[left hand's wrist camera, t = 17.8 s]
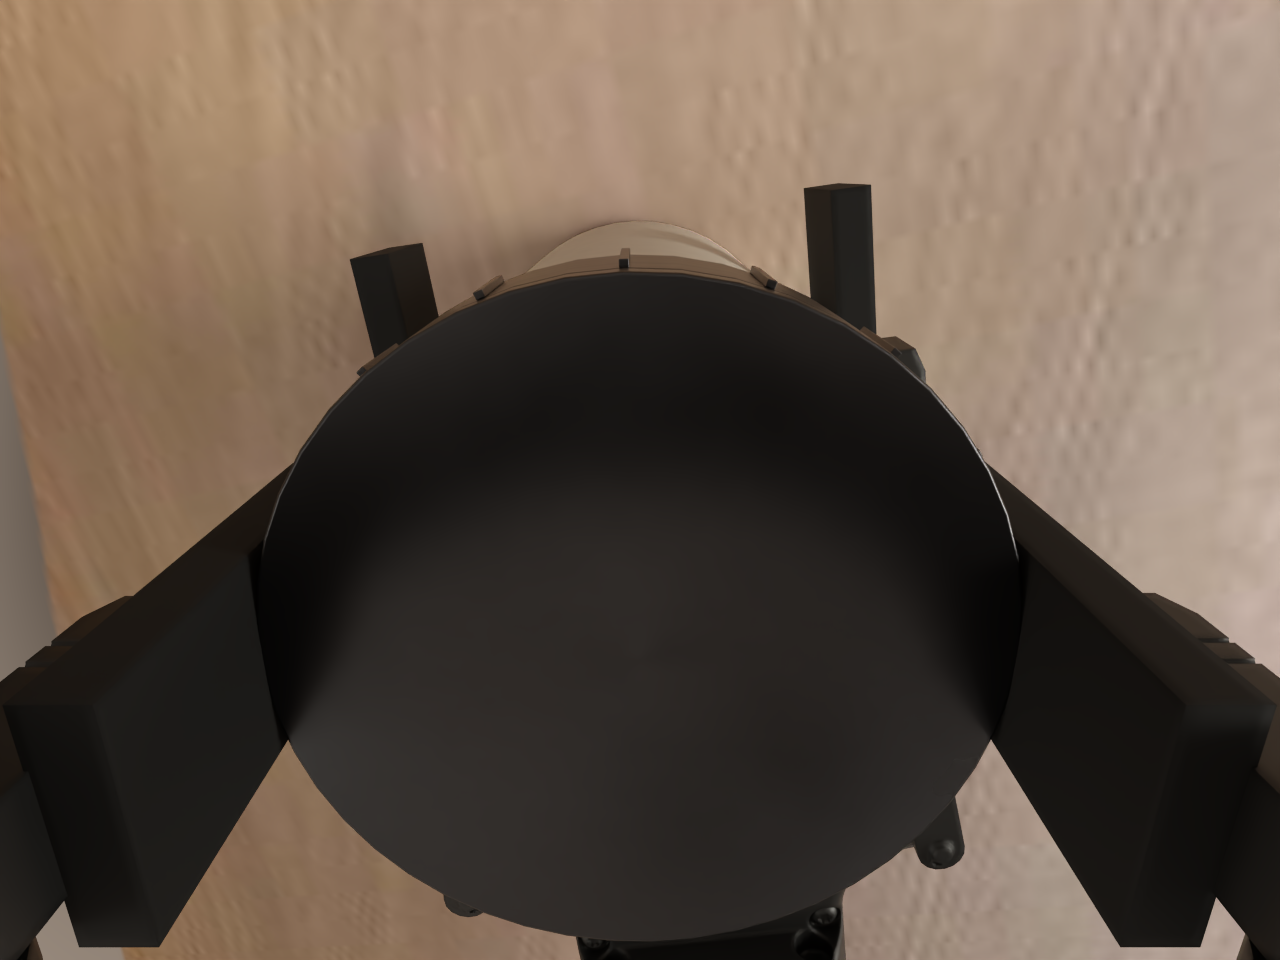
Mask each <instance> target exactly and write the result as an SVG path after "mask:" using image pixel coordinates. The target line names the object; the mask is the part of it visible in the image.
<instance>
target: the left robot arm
mask: <svg viewBox="0 0 1280 960" xmlns="http://www.w3.org/2000/svg"><path fill="white" fill-rule="evenodd" d="M985 463H986V462H985ZM986 464H987V463H986ZM292 465H293V463H292V464H291V465H290V466H289V467H288V468H286V469H285V470H284V471H283V472H282V473H280V474H279V475H278V476H277V477H276V478H274V479H273V480H272V481H271V482H270V483H268V484H267V485H266V486H265V487H264V488H262V489H261V490H260V491H259V492H258V493H256V494H255V495H254V496H253V497H252V498H250V499H249V500H248V501H247V502H246V503H244V504H243V505H242V506H241V507H240V508H238V509H237V510H236V511H235V512H234V513H232V514H231V515H230V516H229V517H228V518H226V519H225V520H224V521H223V522H222V523H220V524H219V525H218V526H217V527H216V528H214V529H213V530H212V531H211V532H210V533H208V534H207V535H206V536H205V537H204V538H202V539H201V540H200V541H199V542H198V543H196V544H195V545H194V546H193V547H192V548H190V549H189V550H188V551H187V552H186V553H184V554H183V555H182V556H181V557H180V558H178V559H177V560H176V561H175V562H173V563H172V564H171V565H170V566H169V567H167V568H166V569H165V570H164V571H163V572H161V573H160V574H159V575H158V576H157V577H155V578H154V579H153V580H152V581H151V582H149V583H148V584H147V585H146V586H145V587H143V588H142V589H141V590H140V591H139V592H137V593H136V594H135V595H134V596H124V597H122V598H120V599H118V600H116V601H114V602H112V603H110V604H108V605H106V606H104V607H102V608H99V609H97V610H95V611H93V612H91V613H89V614H87V615H85V616H83V617H82V618H80V619H79V620H78V621H76V622H75V623H74V624H73V625H71V626H70V627H69V628H68V629H66V630H65V631H64V632H63V633H61V634H60V635H59V636H58V637H56V638H55V639H54V640H53V641H52V644H51V646H45V647H44V648H42V649H41V650H40V651H39V652H37V653H36V654H35V655H34V656H32V657H31V658H30V659H29V660H27V661H26V665H25V667H19V668H17V669H16V670H15V671H14V672H12V673H11V674H10V675H8V676H7V677H6V678H5V679H3V680H2V681H1V682H0V960H43V958H42V954H41V951H40V948H39V945H38V942H37V939H36V935H37V934H38V933H39V932H40V930H41V929H42V928H43V926H44V925H45V924H46V923H47V922H48V920H49V919H50V918H51V916H52V915H53V914H54V913H55V911H56V910H57V909H58V908H59V906H60V905H61V904H62V903H63V901H65V904H66V907H67V910H68V914H69V917H70V920H71V923H72V926H73V929H74V932H75V936H76V939H77V942H78V945H79V947H159V946H160V945H161V943H162V942H163V940H164V938H165V937H166V935H167V934H168V932H169V930H170V929H171V927H172V925H173V924H174V922H175V921H176V919H177V917H178V916H179V914H180V913H181V911H182V909H183V908H184V906H185V905H186V903H187V901H188V900H189V898H190V897H191V895H192V893H193V892H194V890H195V889H196V887H197V885H198V884H199V882H200V880H201V879H202V877H203V876H204V874H205V872H206V871H207V869H208V868H209V866H210V864H211V863H212V861H213V860H214V858H215V856H216V855H217V853H218V852H219V850H220V848H221V847H222V845H223V843H224V842H225V840H226V839H227V837H228V835H229V834H230V832H231V831H232V829H233V827H234V826H235V824H236V823H237V821H238V819H239V818H240V816H241V815H242V813H243V811H244V810H245V808H246V807H247V805H248V803H249V802H250V800H251V798H252V797H253V795H254V794H255V792H256V790H257V789H258V787H259V786H260V784H261V782H262V781H263V779H264V778H265V776H266V774H267V773H268V771H269V770H270V768H271V766H272V765H273V763H274V761H275V760H276V758H277V757H278V755H279V753H280V752H281V750H282V749H283V747H284V745H285V744H286V742H287V741H288V738H287V736H286V733H285V731H284V729H283V727H282V725H281V723H280V720H279V718H278V716H277V714H276V711H275V708H274V705H273V701H272V698H271V695H270V691H269V687H268V682H267V677H266V672H265V667H264V661H263V655H262V650H261V644H260V638H259V633H258V626H257V581H258V574H259V568H260V562H261V555H262V549H263V542H264V537H265V534H266V531H267V528H268V524H269V521H270V518H271V515H272V512H273V509H274V506H275V502H276V499H277V496H278V493H279V491H280V489H281V487H282V485H283V483H284V481H285V479H286V477H287V475H288V473H289V471H290V469H291V467H292ZM987 466H988V468H989V469H990V471H991V474H992V476H993V479H994V481H995V484H996V486H997V488H998V491H999V493H1000V496H1001V498H1002V500H1003V503H1004V505H1005V508H1006V510H1007V512H1008V516H1009V520H1010V524H1011V528H1012V532H1013V536H1014V540H1015V545H1016V549H1017V553H1018V557H1019V566H1020V578H1021V589H1022V601H1023V607H1022V622H1021V633H1020V639H1019V646H1018V651H1017V657H1016V662H1015V667H1014V672H1013V678H1012V683H1011V688H1010V693H1009V696H1008V699H1007V701H1006V704H1005V707H1004V709H1003V712H1002V715H1001V717H1000V720H999V723H998V725H997V728H996V731H995V732H994V734H993V736H992V738H991V740H992V741H993V743H994V745H995V746H996V748H997V749H998V751H999V753H1000V754H1001V756H1002V757H1003V759H1004V761H1005V762H1006V764H1007V766H1008V767H1009V769H1010V770H1011V772H1012V774H1013V775H1014V777H1015V778H1016V780H1017V782H1018V783H1019V785H1020V786H1021V788H1022V790H1023V791H1024V793H1025V794H1026V796H1027V798H1028V799H1029V801H1030V803H1031V804H1032V806H1033V807H1034V809H1035V811H1036V812H1037V814H1038V815H1039V817H1040V819H1041V820H1042V822H1043V823H1044V825H1045V827H1046V828H1047V830H1048V831H1049V833H1050V835H1051V836H1052V838H1053V840H1054V841H1055V843H1056V844H1057V846H1058V848H1059V849H1060V851H1061V852H1062V854H1063V856H1064V857H1065V859H1066V860H1067V862H1068V864H1069V865H1070V867H1071V868H1072V870H1073V872H1074V873H1075V875H1076V876H1077V878H1078V880H1079V881H1080V883H1081V885H1082V886H1083V888H1084V889H1085V891H1086V893H1087V894H1088V896H1089V897H1090V899H1091V901H1092V902H1093V904H1094V905H1095V907H1096V909H1097V910H1098V912H1099V913H1100V915H1101V917H1102V918H1103V920H1104V922H1105V923H1106V925H1107V926H1108V928H1109V930H1110V931H1111V933H1112V934H1113V936H1114V938H1115V939H1116V941H1117V942H1118V944H1119V946H1120V947H1200V946H1201V943H1202V940H1203V937H1204V934H1205V930H1206V927H1207V924H1208V921H1209V918H1210V915H1211V912H1212V908H1213V905H1214V902H1215V899H1216V897H1217V899H1218V900H1219V901H1220V902H1221V904H1222V905H1223V906H1224V907H1225V909H1226V910H1227V911H1228V912H1229V914H1230V915H1231V916H1232V917H1233V919H1234V920H1235V921H1236V922H1237V924H1238V925H1239V926H1240V927H1241V929H1242V930H1243V931H1244V932H1245V936H1244V939H1243V942H1242V945H1241V948H1240V951H1239V954H1238V957H1237V960H1280V678H1279V677H1278V676H1276V675H1275V674H1274V673H1273V672H1271V671H1270V670H1269V669H1267V668H1266V667H1265V666H1264V665H1262V664H1255V658H1253V657H1252V656H1251V655H1250V654H1248V653H1247V652H1246V651H1245V650H1243V649H1242V648H1241V647H1240V646H1238V645H1237V644H1236V643H1229V638H1228V637H1227V636H1226V635H1224V634H1223V633H1222V632H1220V631H1219V630H1218V629H1217V628H1215V627H1214V626H1213V625H1212V624H1210V623H1209V622H1208V621H1206V620H1205V619H1204V618H1203V617H1201V616H1200V615H1199V614H1197V613H1195V612H1193V611H1191V610H1189V609H1187V608H1185V607H1183V606H1181V605H1179V604H1177V603H1175V602H1173V601H1170V600H1168V599H1166V598H1164V597H1162V596H1160V595H1158V594H1156V593H1142V592H1141V591H1140V590H1138V589H1137V588H1136V587H1135V586H1134V585H1132V584H1131V583H1130V582H1129V581H1128V580H1126V579H1125V578H1124V577H1123V576H1122V575H1120V574H1119V573H1118V572H1117V571H1116V570H1114V569H1113V568H1112V567H1111V566H1110V565H1108V564H1107V563H1106V562H1105V561H1104V560H1102V559H1101V558H1100V557H1099V556H1098V555H1096V554H1095V553H1094V552H1093V551H1092V550H1090V549H1089V548H1088V547H1087V546H1086V545H1084V544H1083V543H1082V542H1081V541H1080V540H1078V539H1077V538H1076V537H1075V536H1073V535H1072V534H1071V533H1070V532H1069V531H1067V530H1066V529H1065V528H1064V527H1063V526H1061V525H1060V524H1059V523H1058V522H1057V521H1055V520H1054V519H1053V518H1052V517H1051V516H1049V515H1048V514H1047V513H1046V512H1045V511H1043V510H1042V509H1041V508H1040V507H1039V506H1037V505H1036V504H1035V503H1034V502H1033V501H1031V500H1030V499H1029V498H1028V497H1027V496H1025V495H1024V494H1023V493H1022V492H1021V491H1019V490H1018V489H1017V488H1016V487H1015V486H1013V485H1012V484H1011V483H1010V482H1009V481H1007V480H1006V479H1005V478H1004V477H1003V476H1001V475H1000V474H999V473H998V472H997V471H995V470H994V469H993V468H992V467H991V466H989V465H988V464H987Z"/></svg>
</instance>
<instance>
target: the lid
mask: <svg viewBox="0 0 1280 960" xmlns="http://www.w3.org/2000/svg"><path fill="white" fill-rule="evenodd" d="M473 295H474V296H473V297H471V298H469V299H467V300H466V301H464V302H462V303H460V304H459V305H457V306H455V307H453V308H452V309H450V310H448V311H446V312H445V313H443V314H442V315H441V316H439V317H438V318H436V319H435V320H434V321H432V322H431V323H429V324H428V325H427V326H425V327H424V328H422V329H421V330H419V331H418V332H417V333H415V334H414V335H412V336H411V337H410V338H408V339H407V340H405V341H404V342H403V343H402V344H400V345H398V344H397V343H396V344H394V345H393V346H392V347H390V348H389V349H387V350H386V351H384V352H383V353H381V354H380V355H379V356H377V357H376V358H374V359H373V360H371V361H370V362H368V363H367V364H366V365H364V366H363V367H361V368H360V369H359V370H358V371H357V374H358V375H359V376H360V378H359V379H358V380H357V381H356V382H355V383H354V384H353V385H352V386H351V387H350V388H349V389H348V390H347V391H346V392H345V393H344V394H343V395H342V396H341V397H340V398H339V399H338V400H337V401H336V403H335V404H334V405H333V406H332V407H331V408H330V409H329V410H328V411H327V413H326V414H325V416H324V417H323V418H322V420H321V421H320V423H319V424H318V425H317V427H316V428H315V430H314V431H313V433H312V434H311V435H310V437H309V438H308V440H307V441H306V442H305V444H304V445H303V447H302V448H301V450H300V451H299V453H298V455H297V457H296V459H295V461H294V463H293V465H292V467H291V469H290V471H289V473H288V475H287V477H286V479H285V481H284V483H283V485H282V487H281V489H280V491H279V493H278V496H277V499H276V502H275V506H274V509H273V512H272V515H271V518H270V521H269V524H268V528H267V531H266V534H265V537H264V542H263V549H262V555H261V562H260V568H259V574H258V581H257V626H258V633H259V638H260V644H261V650H262V655H263V661H264V667H265V672H266V677H267V682H268V687H269V691H270V695H271V698H272V701H273V705H274V708H275V711H276V714H277V716H278V718H279V720H280V723H281V725H282V727H283V729H284V731H285V733H286V736H287V738H288V740H289V742H290V744H291V746H292V748H293V751H294V752H295V754H296V756H297V757H298V759H299V760H300V762H301V763H302V765H303V767H304V768H305V770H306V771H307V773H308V774H309V776H310V778H311V779H312V781H313V782H314V784H315V785H316V787H317V788H318V789H319V791H320V792H321V793H322V794H323V795H324V797H325V798H326V799H327V800H328V801H329V803H330V804H331V805H332V806H333V807H334V809H335V810H336V811H337V812H338V813H339V815H340V816H341V817H342V818H343V819H344V820H345V821H346V822H347V823H348V824H349V825H350V826H351V827H352V828H353V829H354V830H355V831H356V832H357V833H358V834H359V835H361V836H362V837H363V838H364V839H365V840H366V841H367V842H368V843H369V844H370V845H371V846H372V847H373V848H374V849H376V850H377V851H378V852H380V853H381V854H382V855H384V856H385V857H386V858H388V859H389V860H390V861H392V862H393V863H395V864H396V865H397V866H399V867H400V868H401V869H403V870H404V871H405V872H407V873H408V874H409V875H411V876H413V877H415V878H416V879H418V880H420V881H421V882H423V883H425V884H427V885H428V886H430V887H432V888H434V889H435V890H437V891H439V892H440V893H442V894H444V895H446V896H448V897H450V898H452V899H454V900H457V901H459V902H461V903H463V904H466V905H468V906H470V907H472V908H475V909H477V910H479V911H481V912H484V913H486V914H489V915H492V916H495V917H498V918H501V919H505V920H508V921H511V922H514V923H517V924H520V925H523V926H526V927H531V928H535V929H540V930H544V931H549V932H553V933H558V934H563V935H568V936H576V937H584V938H593V939H601V940H613V941H662V940H675V939H688V938H697V937H703V936H709V935H714V934H720V933H726V932H731V931H737V930H740V929H744V928H747V927H751V926H754V925H758V924H762V923H765V922H769V921H772V920H776V919H779V918H781V917H784V916H786V915H789V914H791V913H794V912H796V911H799V910H802V909H804V908H807V907H809V906H812V905H814V904H817V903H819V902H821V901H823V900H824V899H826V898H828V897H830V896H832V895H834V894H836V893H838V892H840V891H842V890H844V889H846V888H847V887H849V886H851V885H853V884H855V883H856V882H858V881H859V880H861V879H862V878H864V877H865V876H867V875H868V874H870V873H871V872H873V871H874V870H876V869H877V868H879V867H880V866H882V865H883V864H885V863H886V862H888V861H889V860H891V859H892V858H893V857H894V856H895V855H897V854H898V853H899V852H900V851H901V850H902V849H904V848H905V847H906V846H907V845H908V844H910V843H911V842H912V841H913V840H914V839H915V838H917V837H918V836H919V835H920V834H921V833H922V832H923V831H924V830H925V829H926V828H927V827H928V826H929V825H930V824H931V823H932V822H933V821H934V819H935V818H936V817H937V816H938V815H939V814H940V813H941V812H942V811H943V810H944V809H945V808H946V807H947V806H948V804H949V803H950V802H951V801H952V800H953V798H954V797H955V795H956V794H957V793H958V791H959V790H960V788H961V787H962V786H963V784H964V783H965V782H966V780H967V779H968V777H969V776H970V775H971V773H972V772H973V770H974V769H975V768H976V766H977V764H978V762H979V760H980V758H981V757H982V755H983V753H984V751H985V749H986V747H987V745H988V744H989V742H990V740H991V738H992V736H993V734H994V732H995V731H996V728H997V725H998V723H999V720H1000V717H1001V715H1002V712H1003V709H1004V707H1005V704H1006V701H1007V699H1008V696H1009V693H1010V688H1011V683H1012V678H1013V672H1014V667H1015V662H1016V657H1017V651H1018V646H1019V639H1020V633H1021V622H1022V607H1023V601H1022V589H1021V578H1020V566H1019V557H1018V553H1017V549H1016V545H1015V540H1014V536H1013V532H1012V528H1011V524H1010V520H1009V516H1008V512H1007V510H1006V508H1005V505H1004V503H1003V500H1002V498H1001V496H1000V493H999V491H998V488H997V486H996V484H995V481H994V479H993V476H992V474H991V471H990V469H989V468H988V466H987V464H986V463H985V461H984V459H983V458H982V454H981V452H980V450H979V449H977V448H976V446H975V445H974V443H973V441H972V440H971V438H970V436H969V435H968V433H967V431H966V430H965V428H964V427H963V426H962V424H961V423H960V422H959V421H958V420H957V418H956V417H955V416H954V415H953V414H952V412H951V411H950V410H949V409H948V408H947V407H946V405H945V404H944V403H943V402H942V401H941V399H940V398H939V397H938V396H937V395H936V393H935V392H934V391H933V390H932V389H931V388H930V387H929V386H928V385H927V384H926V383H925V382H924V381H922V380H921V379H920V378H919V377H918V376H917V375H916V374H914V373H913V372H912V371H911V370H910V369H909V368H908V367H907V366H905V365H904V364H903V363H902V362H901V361H900V360H899V359H898V357H899V356H900V355H901V352H900V351H899V350H898V349H897V348H895V347H894V346H892V345H891V344H889V343H888V342H886V341H885V340H883V339H882V338H880V337H879V336H878V335H876V334H875V333H873V332H872V331H870V330H869V329H867V328H866V327H863V328H862V329H861V330H860V331H859V330H858V329H857V328H855V327H854V326H852V325H851V324H850V323H848V322H847V321H845V320H843V319H842V318H840V317H839V316H837V315H836V314H834V313H833V312H831V311H830V310H828V309H827V308H825V307H824V306H822V305H821V304H819V303H818V302H816V301H814V300H813V299H811V298H810V297H807V296H805V295H803V294H801V293H799V292H797V291H795V290H793V289H790V288H788V287H786V286H784V285H782V284H780V283H778V282H777V281H776V280H774V279H773V278H772V277H771V276H769V275H768V274H767V273H765V272H764V271H763V270H762V269H760V268H758V267H755V266H752V268H751V270H750V272H747V271H744V270H741V269H738V268H734V267H731V266H728V265H725V264H721V263H715V262H709V261H703V260H697V259H691V258H685V257H679V256H664V255H631V254H630V248H622V249H621V252H620V255H615V256H606V257H596V258H587V259H578V260H573V261H569V262H565V263H561V264H557V265H553V266H549V267H545V268H541V269H537V270H533V271H530V272H527V273H525V274H522V275H519V276H517V277H514V278H512V279H509V280H507V281H504V279H503V277H502V275H500V276H497V277H495V278H493V279H492V280H491V281H489V282H488V283H486V284H485V285H483V286H482V287H481V288H479V289H478V290H476V291H475V292H474V293H473Z"/></svg>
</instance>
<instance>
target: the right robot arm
mask: <svg viewBox="0 0 1280 960" xmlns="http://www.w3.org/2000/svg"><path fill="white" fill-rule="evenodd" d="M804 199H805V214H806V230H807V246H808V262H809V278H810V294H811V299H813V300H814V301H816V302H818V303H819V304H821V305H822V306H824V307H825V308H827V309H828V310H830V311H831V312H833V313H834V314H836V315H837V316H839V317H840V318H842V319H843V320H845V321H847V322H848V323H850V324H851V325H852V326H854V327H855V328H857V329H858V330H859V331H860V330H861V329H862V328H863V327H866V328H867V329H869V330H870V331H872V332H873V333H875V334H876V312H875V285H874V257H873V230H872V202H871V185H865V184H841V183H837V184H830V185H823V186H816V187H809V188H804ZM350 262H351V266H352V270H353V274H354V278H355V282H356V286H357V290H358V294H359V298H360V302H361V306H362V310H363V314H364V318H365V322H366V326H367V330H368V334H369V338H370V342H371V346H372V350H373V354H374V358H376V357H377V356H379V355H380V354H381V353H383V352H384V351H386V350H387V349H389V348H390V347H392V346H393V345H394V344H396V343H397V344H398V345H400V344H402V343H403V342H404V341H405V340H407V339H408V338H410V337H411V336H412V335H414V334H415V333H417V332H418V331H419V330H421V329H422V328H424V327H425V326H427V325H428V324H429V323H431V322H432V321H434V320H435V319H436V318H438V317H439V316H438V312H437V307H436V303H435V298H434V293H433V289H432V284H431V280H430V275H429V271H428V266H427V262H426V257H425V253H424V248H423V243H419V244H412V245H405V246H398V247H391V248H387V249H383V250H380V251H377V252H373V253H370V254H366V255H363V256H359V257H356V258H353V259H350ZM882 339H883V340H885V341H886V342H888V343H889V344H891V345H892V346H894V347H895V348H897V349H898V350H899V351H900V352H901V355H900V356H899V357H898V359H899V360H900V361H901V362H902V363H903V364H904V365H905V366H907V367H908V368H909V369H910V370H911V371H912V372H913V373H914V374H916V375H917V376H918V377H919V378H920V379H921V380H922V381H924V382H925V383H926V377H925V369H924V367H923V364H922V362H921V360H920V358H919V356H918V353H917V351H916V349H915V348H913V347H912V346H910V345H909V344H907V343H906V342H904V341H902V340H901V339H899V338H898V337H896V336H894V337H887V338H882ZM911 847H914V848H915V850H916V853H917V855H918V857H919V859H920V861H921V863H922V864H924V865H925V866H927V867H929V868H933V869H945V868H948V867H951V866H953V865H955V864H956V863H957V862H958V861H960V859H961V858H962V856H963V854H964V847H965V846H964V841H963V835H962V830H961V825H960V820H959V815H958V810H957V805H956V799H955V797H954V798H953V800H952V801H951V802H950V803H949V804H948V806H947V807H946V808H945V809H944V810H943V811H942V812H941V813H940V814H939V815H938V816H937V817H936V818H935V819H934V821H933V822H932V823H931V824H930V825H929V826H928V827H927V828H926V829H925V830H924V831H923V832H922V833H921V834H920V835H919V836H918V837H917V838H915V839H914V840H913V841H912V842H911V843H910V844H908V845H907V846H906V847H905V848H904V849H906V848H911ZM844 891H845V889H844V890H842V891H840V892H838V893H836V894H834V895H832V896H830V897H828V898H826V899H824V900H823V901H821V902H819V903H817V904H814V905H812V906H809V907H807V908H804V909H802V910H799V911H796V912H794V913H791V914H789V915H786V916H784V917H781V918H779V919H776V920H772V921H769V922H765V923H762V924H758V925H754V926H751V927H747V928H744V929H740V930H737V931H731V932H726V933H720V934H714V935H709V936H703V937H697V938H688V939H675V940H662V941H613V940H601V939H593V938H584V937H576V939H577V945H578V949H579V954H580V959H581V960H846V955H845V940H844V925H843V909H842V899H843V894H844ZM444 901H445V904H446V906H447V907H448V909H449V910H450V911H451V912H453V913H455V914H457V915H459V916H465V917H472V916H477V915H479V914H481V913H483V912H481V911H479V910H477V909H475V908H472V907H470V906H468V905H466V904H463V903H461V902H459V901H457V900H454V899H452V898H450V897H448V896H446V895H444Z"/></svg>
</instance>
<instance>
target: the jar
mask: <svg viewBox="0 0 1280 960" xmlns="http://www.w3.org/2000/svg"><path fill="white" fill-rule="evenodd" d="M622 248H630V254H631V255H664V256H679V257H685V258H691V259H697V260H703V261H709V262H715V263H721V264H725V265H728V266H731V267H734V268H738V269H741V270H744V271H747V272H750V270H749V269H748V268H747V267H746V266H744V265H743V264H742V263H741V262H740V261H739V260H738V259H736V258H735V257H734V256H733V255H732V254H731V253H729V252H728V251H727V250H726V249H724V248H723V247H721V246H720V245H718V244H717V243H715V242H714V241H712V240H711V239H709V238H707V237H704V236H702V235H700V234H698V233H696V232H694V231H691V230H688V229H685V228H682V227H679V226H675V225H671V224H665V223H659V222H652V221H629V222H620V223H613V224H609V225H605V226H601V227H597V228H594V229H591V230H589V231H586V232H584V233H581V234H579V235H576V236H575V237H573V238H571V239H569V240H568V241H566V242H564V243H562V244H561V245H559V246H558V247H556V248H555V249H554V250H553V251H551V252H550V253H549V254H547V255H546V256H545V257H544V258H542V259H541V260H540V261H539V262H538V263H537V264H535V265H534V266H533V267H532V268H531V269H530V270H528V271H527V272H530V271H533V270H537V269H541V268H545V267H549V266H553V265H557V264H561V263H565V262H569V261H573V260H578V259H587V258H596V257H606V256H615V255H620V252H621V249H622ZM527 272H526V273H527Z"/></svg>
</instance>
